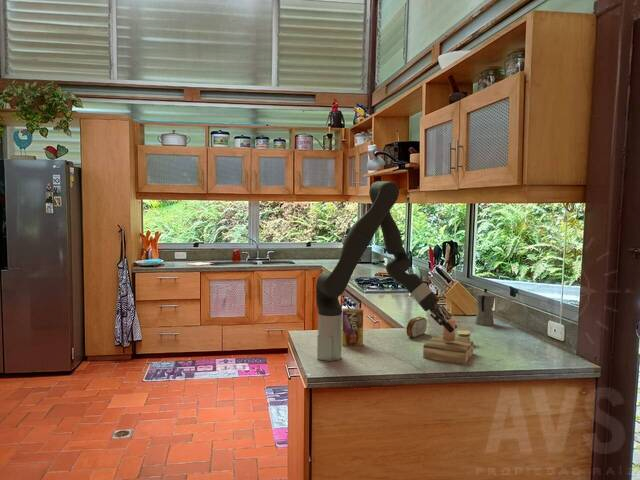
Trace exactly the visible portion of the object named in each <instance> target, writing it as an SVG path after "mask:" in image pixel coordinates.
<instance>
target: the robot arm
mask: <svg viewBox="0 0 640 480" xmlns="http://www.w3.org/2000/svg"><path fill="white" fill-rule="evenodd" d="M368 193H369V194H368V195H369V197H370V198H369V199H370V200H371V204H372V205H371V207H370V208H369V210H368V211H367V212H366V213H364V214H363V215H362V216H361V217H359V219H357V220H356V221H355V222H354V224H352V226H351V227H350V230H349V231H348V233H347V234H346V236H345V237H344V238H345V239H344V240H343V243H342V248H341V254H340V256H339V260H338V262H337V264H336V265H335V267H334V268H333V270H332V271H324V272H321V273H320V274H319V276H318V277H317V279H316V283H315V294H316V295H315V297H316V298H315V300H316V307H317V311H318V312H317V315H318V317H317V342H316V343H317V346H316V347H317V348H316V349H317V351H316V353H317V354H316V359H317V360H321V361H327V362H333V361H338V360H340V359H342V346H343V345H342V308H343V306H342V305H341V303H340V301H339V297H340V296H342V294H343V293H344V292H345V291H346V289H347V286H348V284H349V282H350V280H351V277H352V276H353V273H354V271H355V269H356V267H357V265H358V264H359V262H360V261H361V259H362V257H363V255H364V253H365V252H366V250H367V249H368V247H369V245H370V243H371V242H372V240H373V238H374V236H375V234H376V232H377V231H378V229H379V228H380V230H381V233H382V237H383V242H384V247H385V250H386V254H387V255H391V256H392V255H393V257H394V258H393V259H391V260H390V261H388V262H387V264H386V266H385V267H386V268H385V270H386V272H387V275H389V277H391V278H392V279H393V280H394V281H396V282H397V283H398V284H400V285H401V286H403V287H404V288H405V289H406V291H408V293H409V294H410V295H411V296H412V297H413V299H414V301H415V302H417V304H418V305H419V306H420V307H421V309H422V310H423V311H424V312H428V311H429V312H430V314H429V316H430V318H432V319H433V320H434V321H435V322H436V323H437V324H438V325H439V326H442V327H443V326H444V327H445V328H446V329H447V330H448V331H449V333H451V332H452V331H454V328H453V327H452V326H451V325H450V324H449V323H447V322H448V321H447V320H446V319H452V315H451V314H450V313H449V311H448V310H447V309H446V307H445V306H444V305H440V304H438V302H440V298H439V297H438V296H437V294H435V292H433V291H432V289H431V288H430V287H429V286H428V285H427V284H426V283H425V282H424V281H423V280H422V279H421V278H420V277H419V275H417V273H410V274H409V273H407V271H409V269H410V266H411V262H410V258H409V255H408V254H407V252H406V250H405V248H404V244H403V241H402V236H401V235H402V234H401V232H400V229H399V227H398V225H397V223H396V221H395V220H394V218H393V216H392V214H391V210H392V208H393V207H394V205H395V204H396V202H397V201H398V198H399V195H400V188H399V186H398V184H397V183H395V182H393V181H383V180H382V181H380V180H379V181H374V182H373V183H372V184H371V186H370V187H369V192H368ZM457 328H458V325H457V324H456V323H455V330H456V329H457Z"/></svg>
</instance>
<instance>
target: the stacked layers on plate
mask: <svg viewBox="0 0 640 480" xmlns="http://www.w3.org/2000/svg"><path fill="white" fill-rule="evenodd" d="M455 336H456V337H455V339H461V340H469V341H471V338H470V337H471V331H469V330H456V333H455Z"/></svg>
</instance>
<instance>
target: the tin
mask: <svg viewBox="0 0 640 480" xmlns="http://www.w3.org/2000/svg"><path fill="white" fill-rule="evenodd" d="M427 324H428V320H427V319H426V318H425V317H422V316H416V317H413V318H411V319H410V320H408V322H407V325H406V335H407V337H409V338H412V339H414V338H417V337H420V336H423V335H424V334H425V332H426V331H427Z"/></svg>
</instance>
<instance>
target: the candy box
mask: <svg viewBox="0 0 640 480" xmlns="http://www.w3.org/2000/svg"><path fill="white" fill-rule="evenodd" d="M342 346H364V310H363V308H359V307H358V308H353V307H350V308H345V307H344V308H343V307H342Z"/></svg>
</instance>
